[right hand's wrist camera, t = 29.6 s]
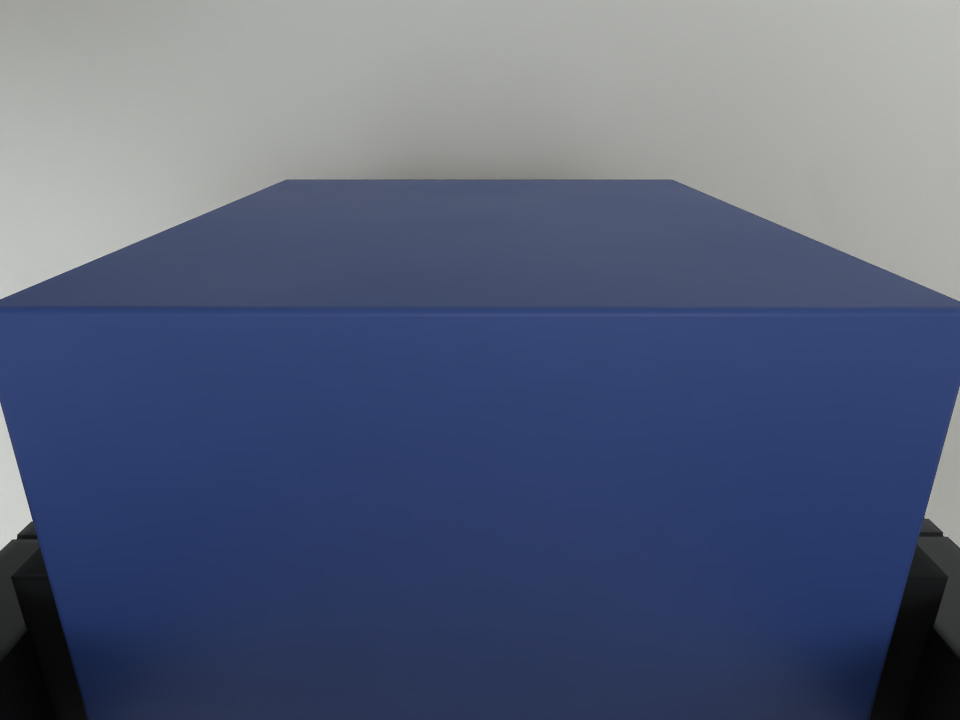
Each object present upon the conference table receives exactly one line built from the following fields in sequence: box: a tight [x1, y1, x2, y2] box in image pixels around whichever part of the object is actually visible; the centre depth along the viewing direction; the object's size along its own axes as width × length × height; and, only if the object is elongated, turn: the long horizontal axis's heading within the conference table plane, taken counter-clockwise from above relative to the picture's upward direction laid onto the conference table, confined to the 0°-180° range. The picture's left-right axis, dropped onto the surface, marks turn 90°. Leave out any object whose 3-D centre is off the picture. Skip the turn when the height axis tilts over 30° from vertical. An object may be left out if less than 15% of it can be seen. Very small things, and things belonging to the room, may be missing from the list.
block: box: [0, 180, 960, 720], centre depth 12 cm, size 8×9×10 cm
